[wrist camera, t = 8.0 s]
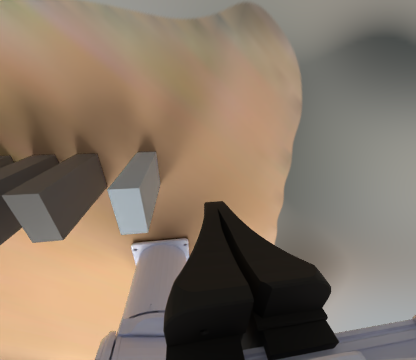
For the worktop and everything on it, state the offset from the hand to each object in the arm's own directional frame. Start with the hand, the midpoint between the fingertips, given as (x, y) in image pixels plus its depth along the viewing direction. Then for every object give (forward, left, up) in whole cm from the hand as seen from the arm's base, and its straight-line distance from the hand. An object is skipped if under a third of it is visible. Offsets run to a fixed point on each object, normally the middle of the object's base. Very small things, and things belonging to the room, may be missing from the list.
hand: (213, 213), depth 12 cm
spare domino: (0, +6, -9) cm, 11 cm away
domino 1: (0, +12, -9) cm, 15 cm away
